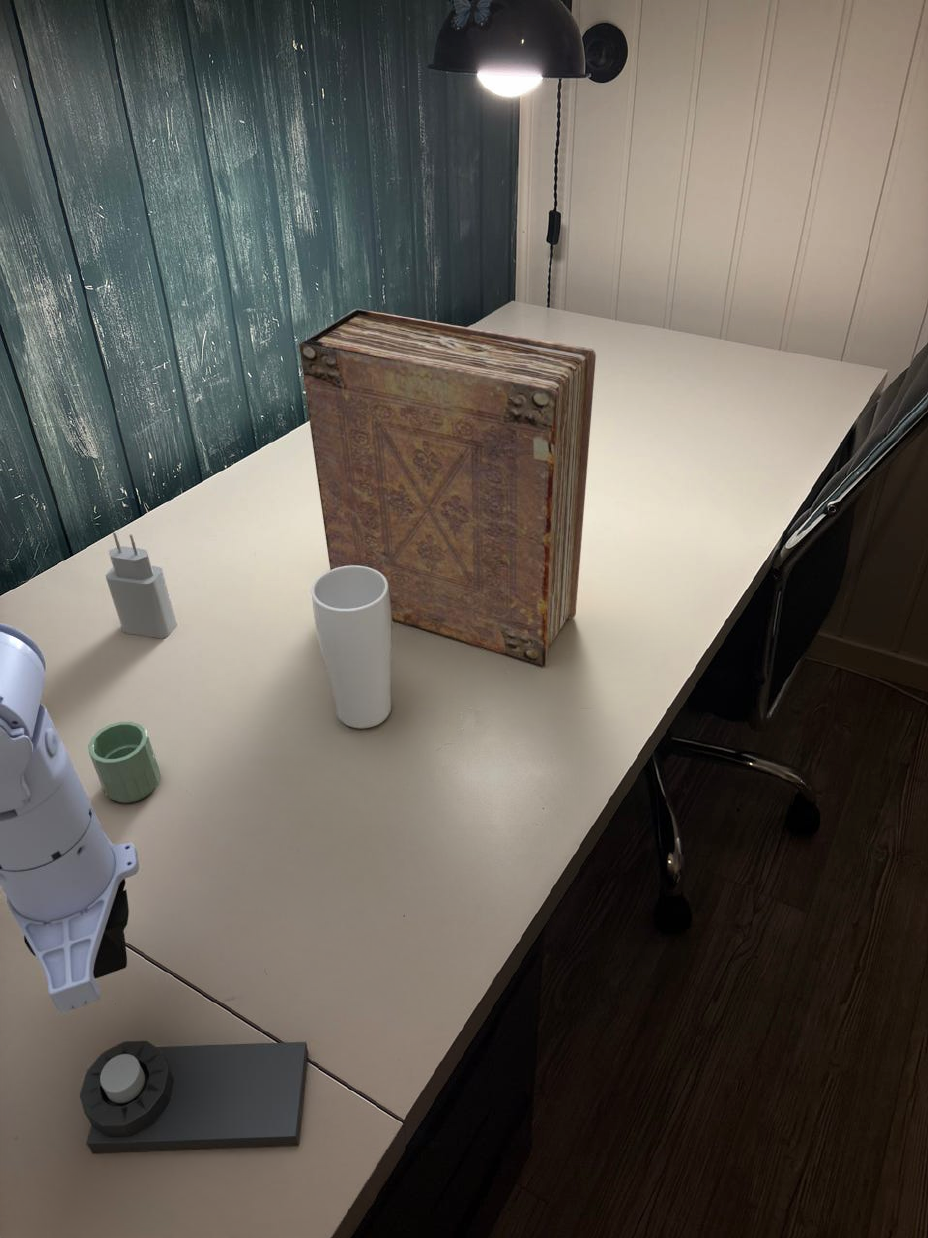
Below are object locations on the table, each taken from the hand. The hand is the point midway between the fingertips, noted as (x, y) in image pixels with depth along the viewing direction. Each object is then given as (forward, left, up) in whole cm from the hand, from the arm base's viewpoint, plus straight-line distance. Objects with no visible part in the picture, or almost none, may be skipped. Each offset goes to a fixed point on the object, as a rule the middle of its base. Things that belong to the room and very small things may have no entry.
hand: (109, 964), depth 58 cm
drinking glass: (+24, +24, -10) cm, 36 cm away
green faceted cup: (+2, +24, -9) cm, 26 cm away
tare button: (-1, -4, -7) cm, 8 cm away
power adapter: (+7, +46, -10) cm, 48 cm away
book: (+38, +35, -10) cm, 53 cm away
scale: (+3, -6, -9) cm, 11 cm away
